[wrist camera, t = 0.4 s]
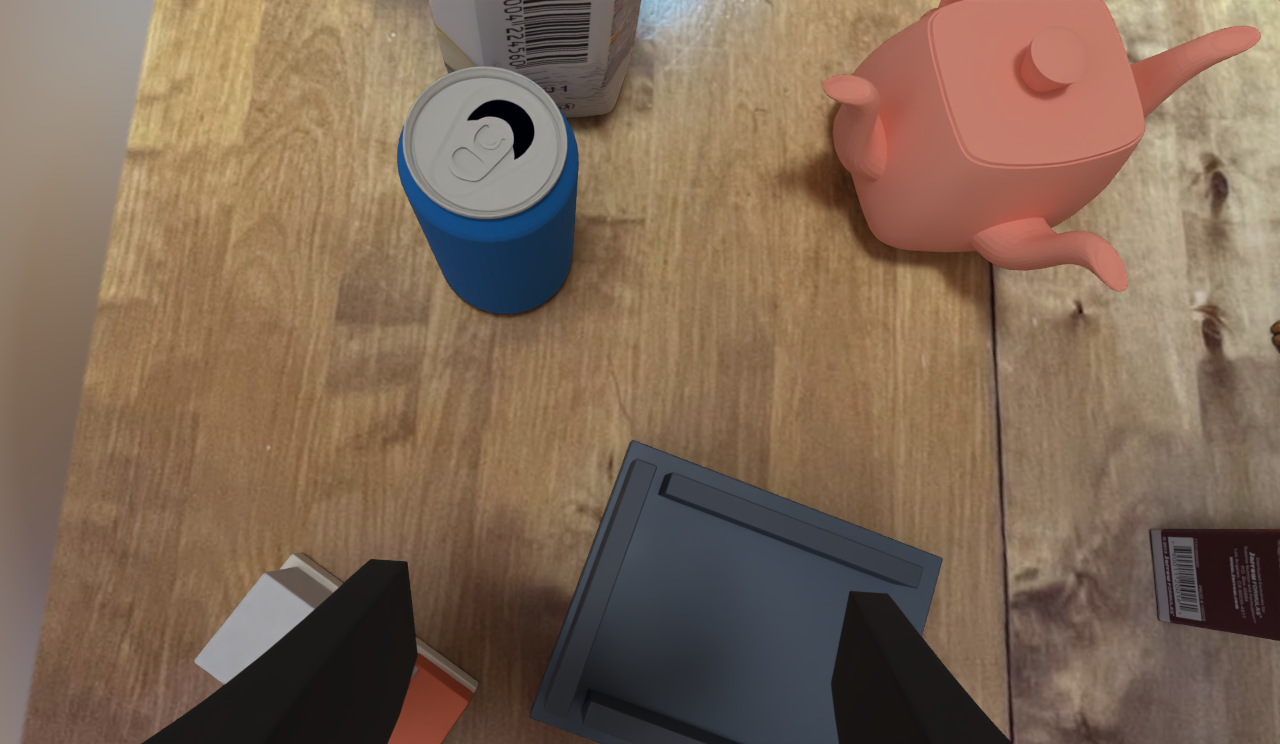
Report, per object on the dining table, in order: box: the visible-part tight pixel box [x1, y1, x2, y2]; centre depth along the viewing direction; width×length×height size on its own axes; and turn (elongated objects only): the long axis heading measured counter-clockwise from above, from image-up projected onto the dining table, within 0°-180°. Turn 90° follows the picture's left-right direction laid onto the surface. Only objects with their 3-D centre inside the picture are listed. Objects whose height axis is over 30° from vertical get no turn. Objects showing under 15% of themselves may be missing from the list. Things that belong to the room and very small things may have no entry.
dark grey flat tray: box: [530, 440, 943, 744], centre depth 34 cm, size 16×13×4 cm
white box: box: [194, 553, 479, 744], centre depth 32 cm, size 10×5×5 cm, turn 55°
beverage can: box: [397, 66, 579, 314], centre depth 32 cm, size 6×6×12 cm
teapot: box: [823, 0, 1261, 291], centre depth 36 cm, size 14×14×11 cm
